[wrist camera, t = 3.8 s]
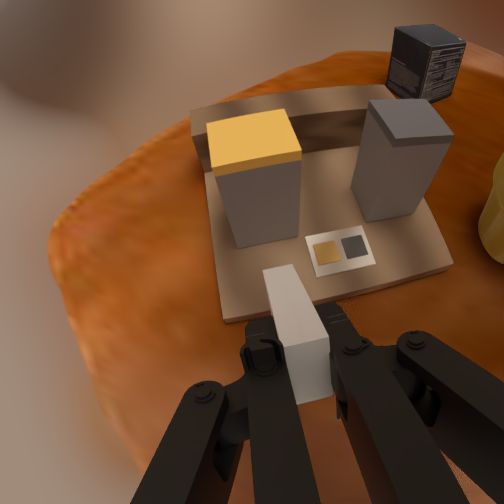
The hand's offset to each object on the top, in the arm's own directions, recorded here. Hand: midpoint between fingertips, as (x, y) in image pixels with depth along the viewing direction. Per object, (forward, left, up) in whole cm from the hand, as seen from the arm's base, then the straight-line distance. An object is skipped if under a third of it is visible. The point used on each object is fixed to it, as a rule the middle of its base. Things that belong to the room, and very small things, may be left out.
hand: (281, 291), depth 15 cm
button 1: (-11, -9, -7) cm, 16 cm away
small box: (-28, -28, -9) cm, 40 cm away
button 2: (0, -9, -7) cm, 11 cm away
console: (-6, -11, -9) cm, 15 cm away
